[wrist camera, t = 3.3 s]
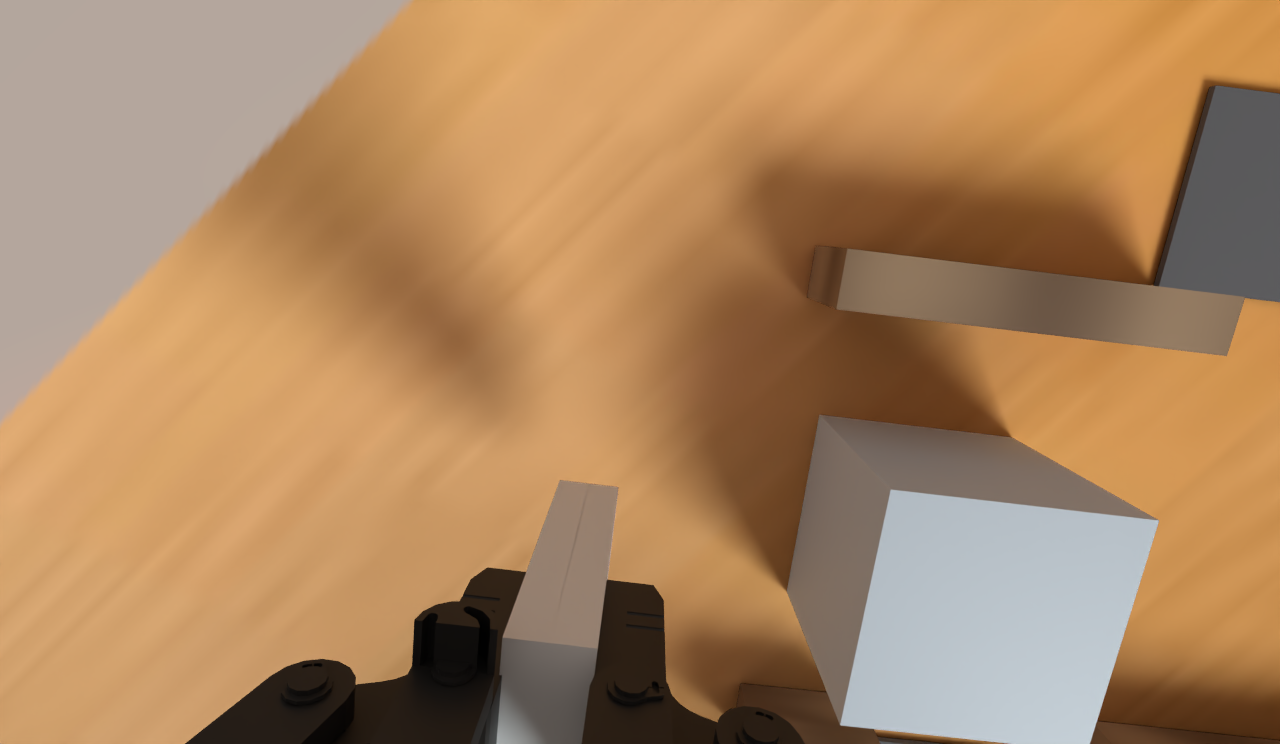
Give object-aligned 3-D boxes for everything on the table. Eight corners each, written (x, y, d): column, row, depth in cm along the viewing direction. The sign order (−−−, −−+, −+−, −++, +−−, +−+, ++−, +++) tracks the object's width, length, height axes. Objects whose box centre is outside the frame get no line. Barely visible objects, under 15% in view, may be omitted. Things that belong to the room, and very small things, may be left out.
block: (786, 590, 22) (840, 725, 16) (818, 413, 20) (890, 489, 14) (966, 610, 22) (1087, 751, 16) (1010, 436, 20) (1159, 520, 15)
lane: (733, 721, 22) (753, 825, 18) (815, 245, 19) (860, 249, 15) (1472, 799, 23) (1642, 915, 19) (1676, 350, 20) (1934, 380, 16)
